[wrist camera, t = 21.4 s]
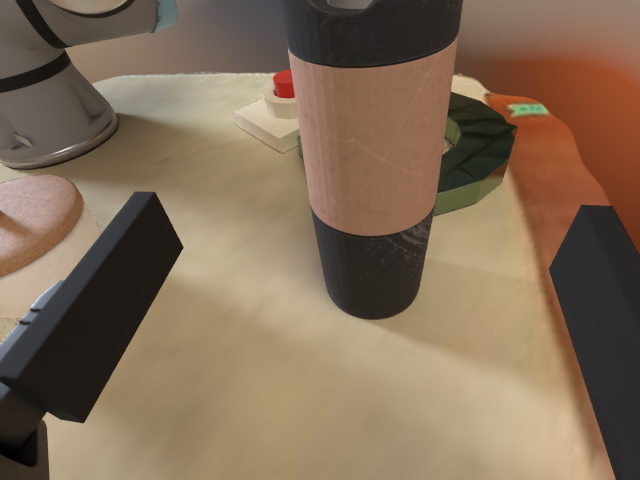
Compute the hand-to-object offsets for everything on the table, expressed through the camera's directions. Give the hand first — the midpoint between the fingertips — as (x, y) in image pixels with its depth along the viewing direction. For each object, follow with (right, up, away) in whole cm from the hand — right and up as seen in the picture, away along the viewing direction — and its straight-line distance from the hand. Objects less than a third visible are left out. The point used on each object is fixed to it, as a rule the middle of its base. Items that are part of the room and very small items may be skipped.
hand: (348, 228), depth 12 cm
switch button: (-4, +18, +34) cm, 38 cm away
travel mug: (+3, -4, +17) cm, 18 cm away
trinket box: (-23, -4, +20) cm, 31 cm away
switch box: (-4, +15, +36) cm, 39 cm away
